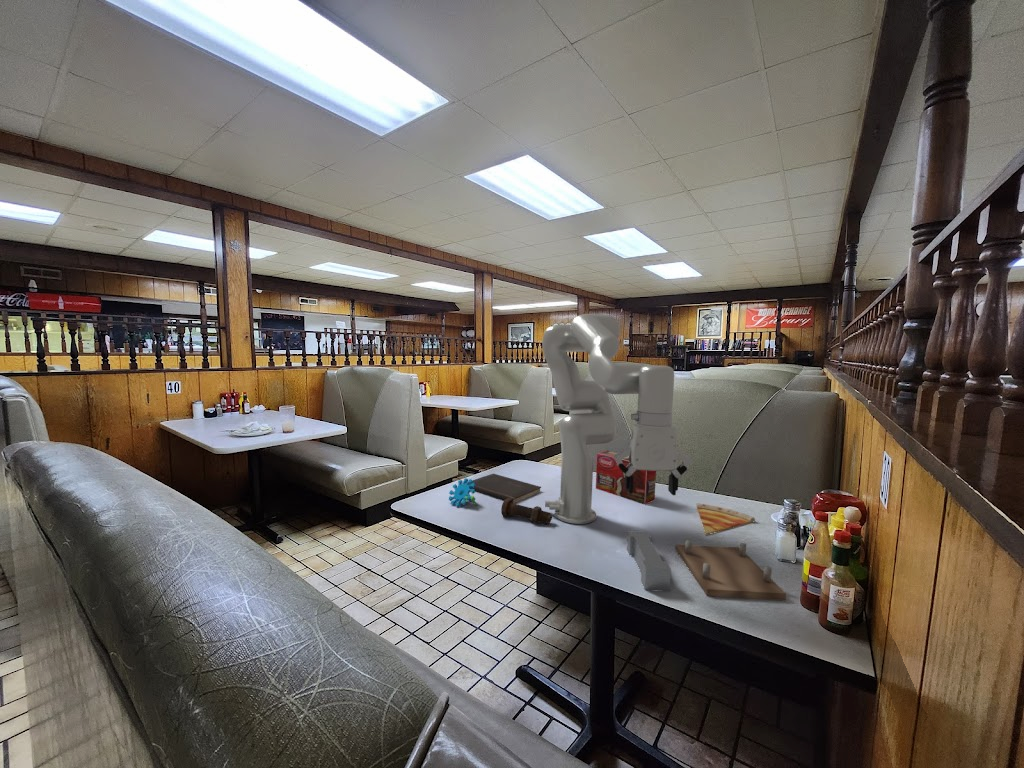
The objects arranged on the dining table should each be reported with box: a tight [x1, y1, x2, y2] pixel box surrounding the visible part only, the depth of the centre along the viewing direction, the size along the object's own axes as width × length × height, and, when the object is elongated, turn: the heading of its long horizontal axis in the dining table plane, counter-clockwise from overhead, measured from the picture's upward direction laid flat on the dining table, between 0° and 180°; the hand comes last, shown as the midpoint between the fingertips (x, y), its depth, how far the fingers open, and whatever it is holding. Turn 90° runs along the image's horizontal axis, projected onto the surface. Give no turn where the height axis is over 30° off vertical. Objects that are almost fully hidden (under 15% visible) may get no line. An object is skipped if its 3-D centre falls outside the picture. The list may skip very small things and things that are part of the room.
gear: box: [448, 477, 478, 507], centre depth 137 cm, size 11×6×10 cm
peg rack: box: [675, 539, 787, 601], centre depth 97 cm, size 16×20×4 cm
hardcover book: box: [466, 473, 542, 504], centre depth 150 cm, size 16×23×2 cm
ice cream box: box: [595, 450, 657, 505], centre depth 147 cm, size 20×6×13 cm, turn 41°
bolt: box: [501, 498, 553, 524], centre depth 124 cm, size 6×5×15 cm
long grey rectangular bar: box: [626, 530, 672, 592], centre depth 98 cm, size 5×18×5 cm, turn 177°
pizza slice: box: [695, 503, 756, 535], centre depth 128 cm, size 16×22×2 cm
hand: (650, 492), depth 97 cm, fingers open, 9 cm apart
